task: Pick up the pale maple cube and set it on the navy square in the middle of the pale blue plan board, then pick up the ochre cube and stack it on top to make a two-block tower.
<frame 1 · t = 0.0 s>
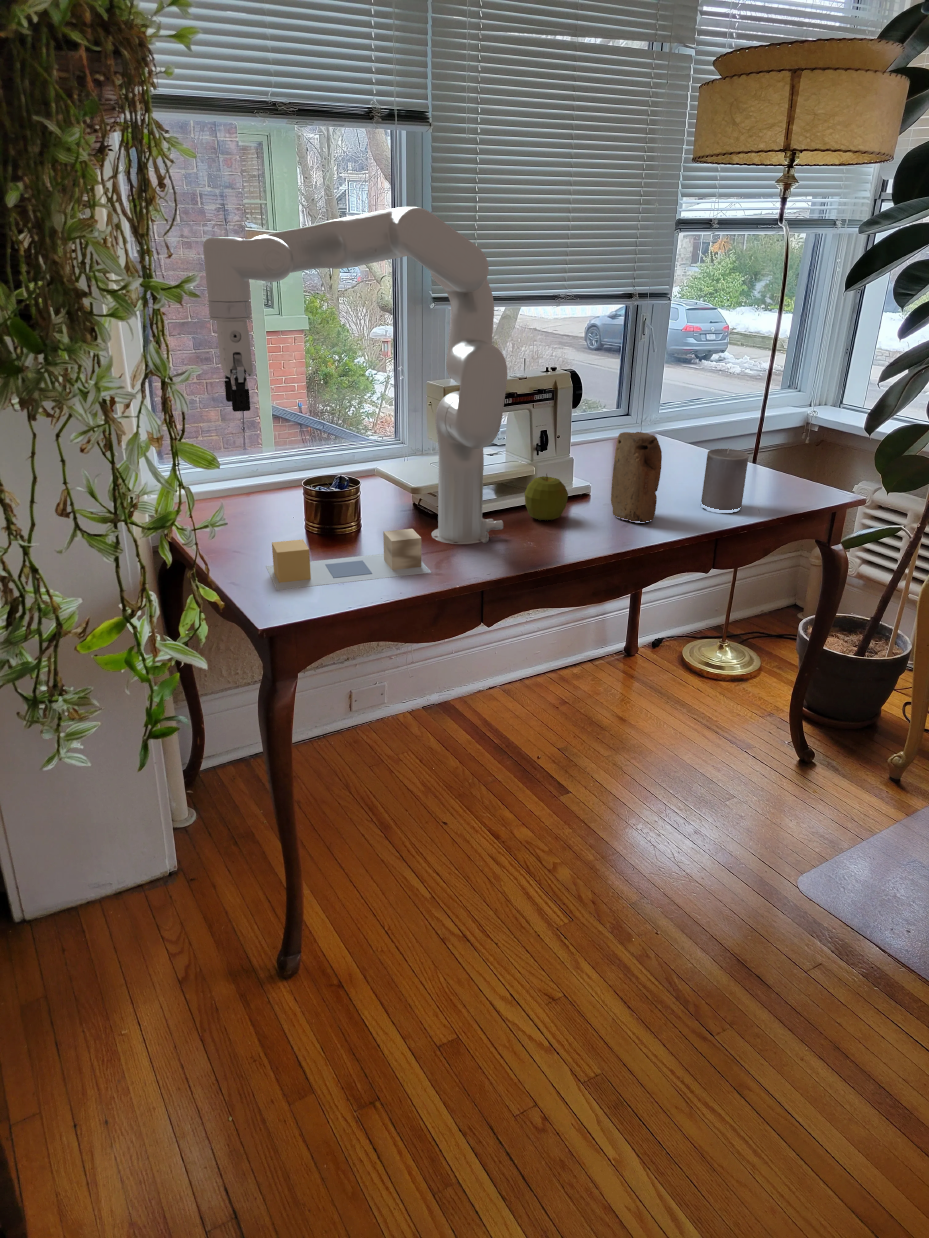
hand: (238, 406, 174), 31 cm above the table, tool pointing down, fingers open, 9 cm apart
plan board: (348, 575, 181), on the table
maple cube: (402, 563, 184), point 1 cm above the table, touching plan board
block: (632, 519, 217), on the table
pillar candle: (720, 509, 226), on the table
apple: (544, 519, 216), on the table
ochre cube: (292, 575, 177), point 1 cm above the table, touching plan board
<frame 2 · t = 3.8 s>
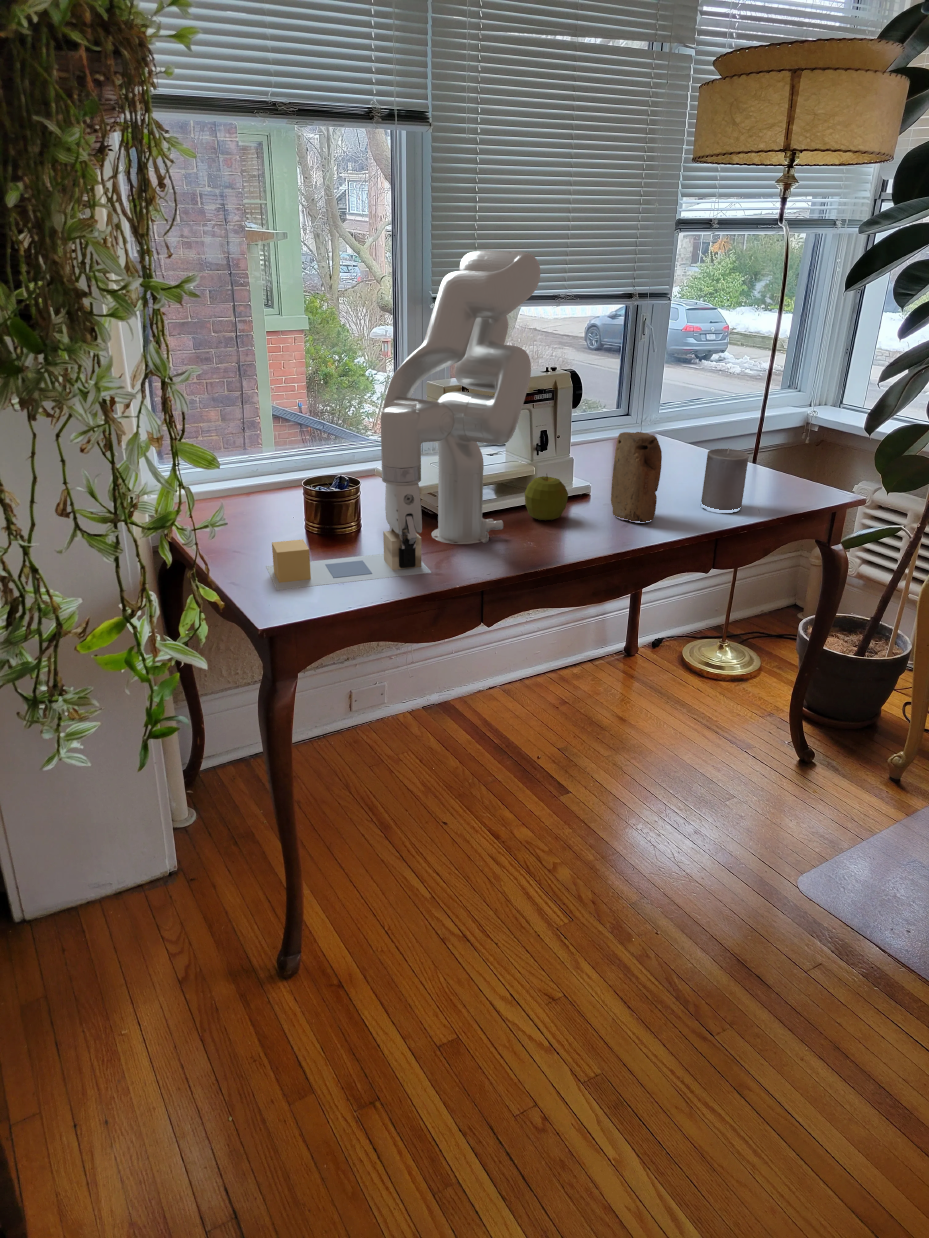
hand: (402, 560, 183), 2 cm above the table, tool pointing down, fingers closed on maple cube, 5 cm apart
maple cube: (402, 563, 184), point 1 cm above the table, touching gripper, plan board
everything else where it was.
when the fingers open (3 cm above the table, at t = 9.1 s): maple cube drops 1 cm, resting on plan board.
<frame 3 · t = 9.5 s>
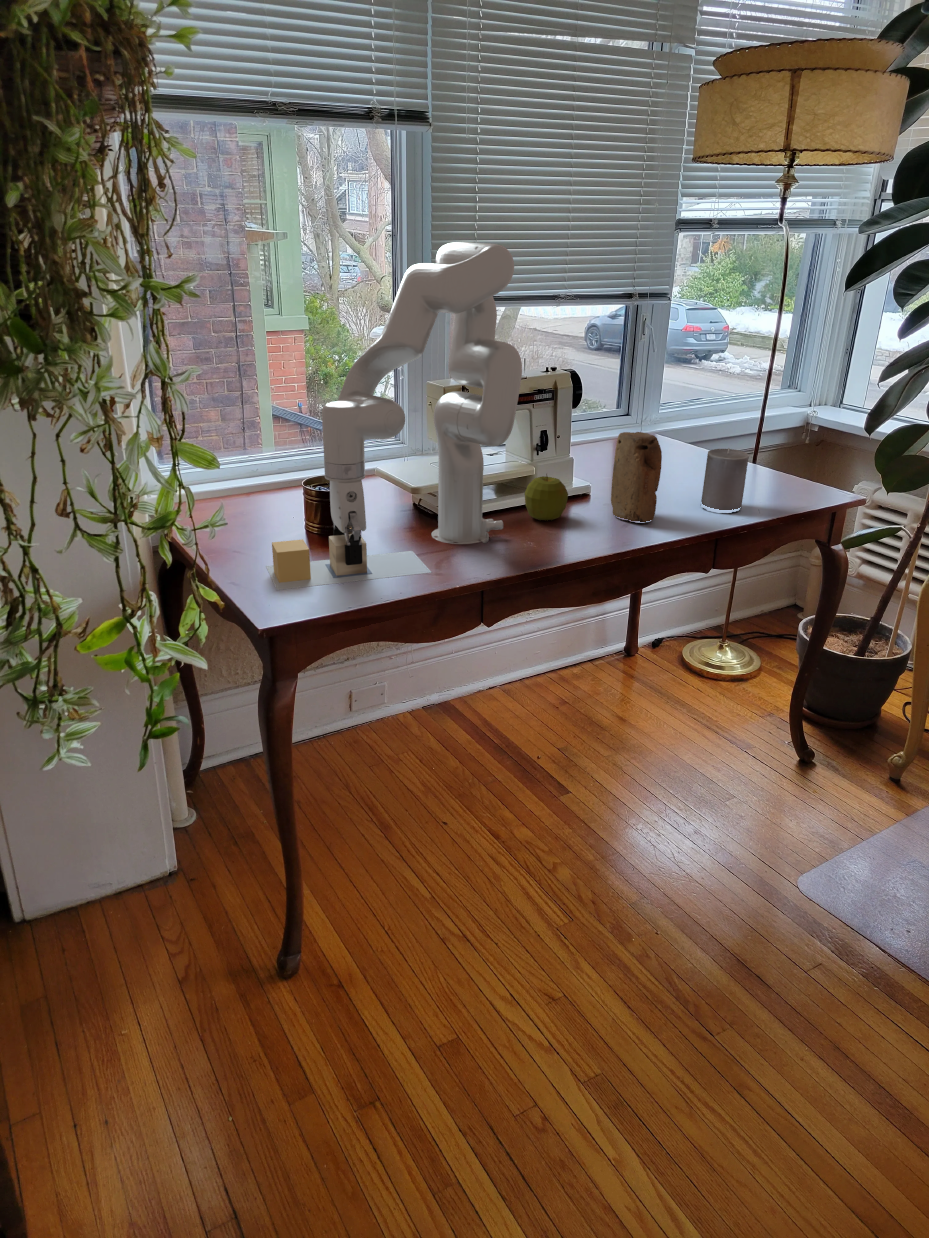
hand: (347, 555, 179), 4 cm above the table, tool pointing down, fingers open, 9 cm apart
maple cube: (348, 568, 180), point 1 cm above the table, touching plan board
everything else where it was.
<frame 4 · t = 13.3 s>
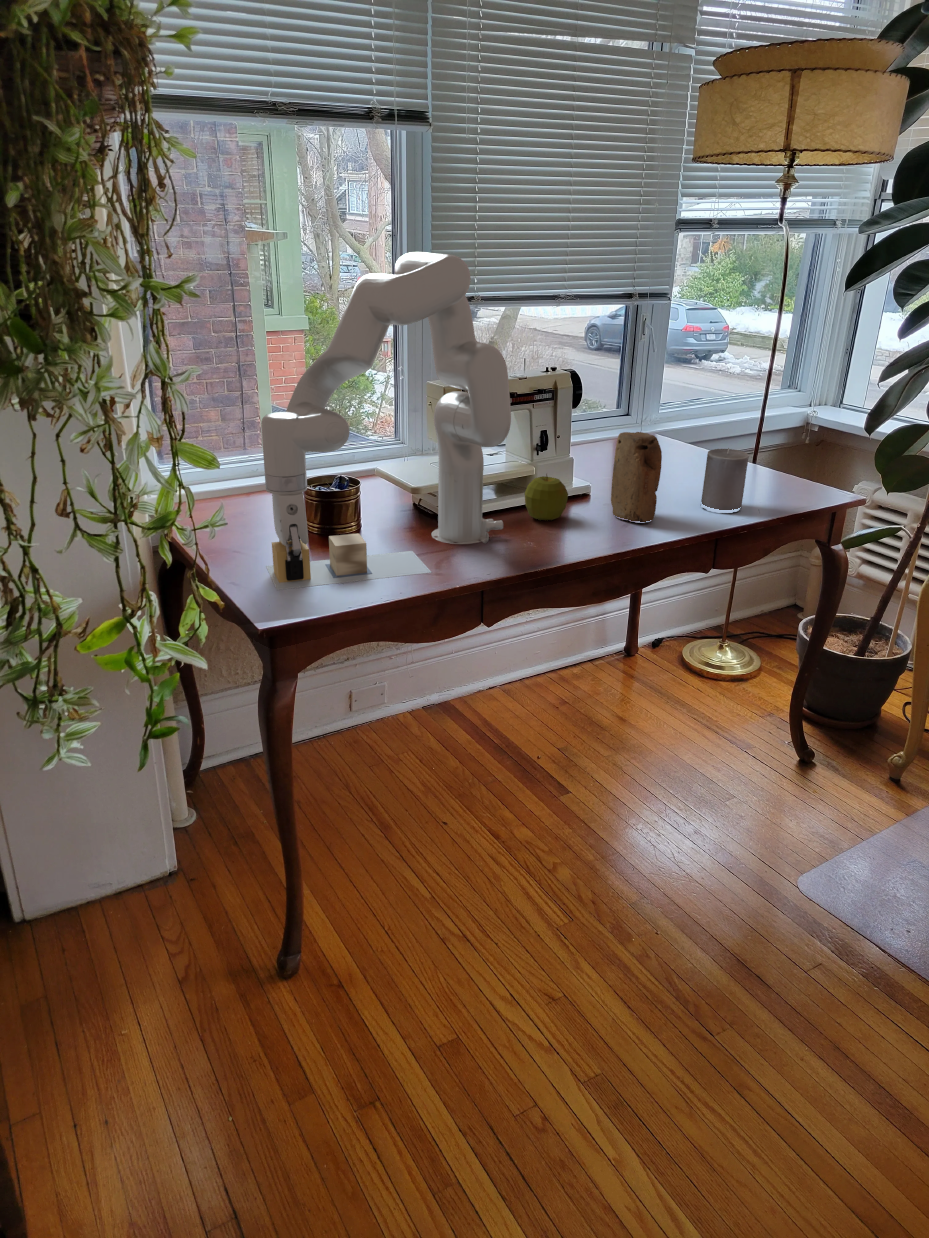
hand: (291, 572, 176), 2 cm above the table, tool pointing down, fingers closed on ochre cube, 5 cm apart
ochre cube: (292, 575, 177), point 1 cm above the table, touching gripper, plan board
everything else where it was.
when the fingers open (9 cm above the table, at t = 17.4 s): ochre cube drops 1 cm, resting on maple cube.
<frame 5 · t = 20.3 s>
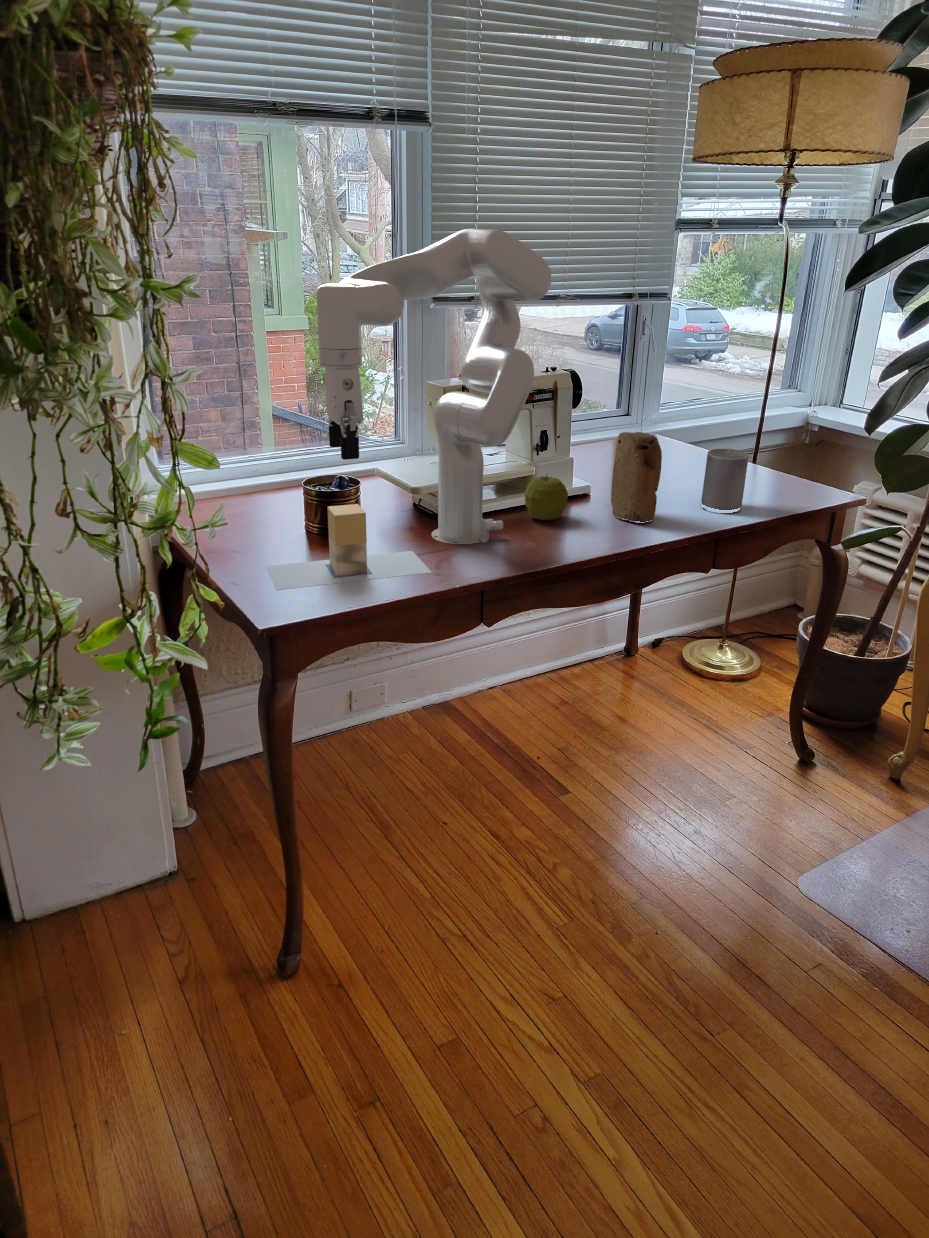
hand: (344, 452, 171), 24 cm above the table, tool pointing down, fingers open, 9 cm apart
maple cube: (348, 568, 180), point 1 cm above the table, touching ochre cube, plan board
ochre cube: (347, 539, 178), point 7 cm above the table, touching maple cube
everything else where it was.
at the end: maple cube 0.0 cm off-centre on the plan board, point 1.3 cm above the plan board's base; ochre cube 0.0 cm off-centre on the maple cube, point 6.0 cm above the maple cube's base; ochre cube tilted 0° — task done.
